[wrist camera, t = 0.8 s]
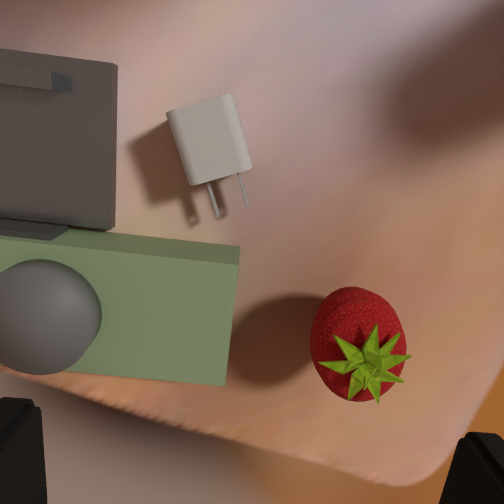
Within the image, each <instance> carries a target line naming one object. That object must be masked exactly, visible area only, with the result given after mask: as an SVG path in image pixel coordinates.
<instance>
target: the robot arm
mask: <svg viewBox="0 0 504 504" xmlns="http://www.w3.org/2000/svg"><path fill="white" fill-rule="evenodd" d="M0 504H47V487H46V473H45V459H44V445H43V431H42V417H41V409H40V407H35V406H34V403H33V401H32V400H31V399H24V398H11V397H3V398H1V399H0ZM439 504H504V440H503V439H502V438H501V437H500V436H499V435H497V434H495V433H482V432H468V433H467V434H466V435H465V437H464V438H461V439H460V440H459V441H458V444H457V447H456V450H455V453H454V457H453V460H452V463H451V466H450V470H449V472H448V476H447V479H446V482H445V485H444V489H443V492H442V495H441V498H440V502H439Z"/></svg>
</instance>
